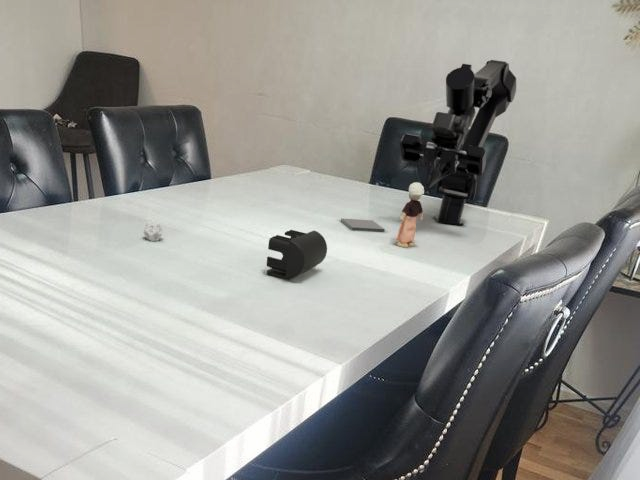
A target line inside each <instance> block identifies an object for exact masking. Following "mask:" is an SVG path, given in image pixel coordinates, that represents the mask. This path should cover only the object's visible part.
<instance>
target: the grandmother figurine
mask: <svg viewBox="0 0 640 480" xmlns="http://www.w3.org/2000/svg"><path fill="white" fill-rule="evenodd" d="M424 194H425V186H423V185H422V183H421V182H417V181H416V182H415V181H414V182H412V183H410V185H409V187H408V198H409V200H410V201H409V202H407V203H406V204H405V205H404V206H403V208H402V210H401V213H400V216H399V217H398V221H399V222H401V224H400V227H399V231H398V232H397V236H396V240H397V242H396V243H395V245H396V246H398V247H402V248H409V247H414V246H415V243H414V241H415V236H416V232H417V231H416V230H417V217H418V220H419V221H423V219H424V216H423V215H424V213H423V212H424V210H423V207H422V203H421V201H420V199H421V197H422V196H423V195H424Z"/></svg>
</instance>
